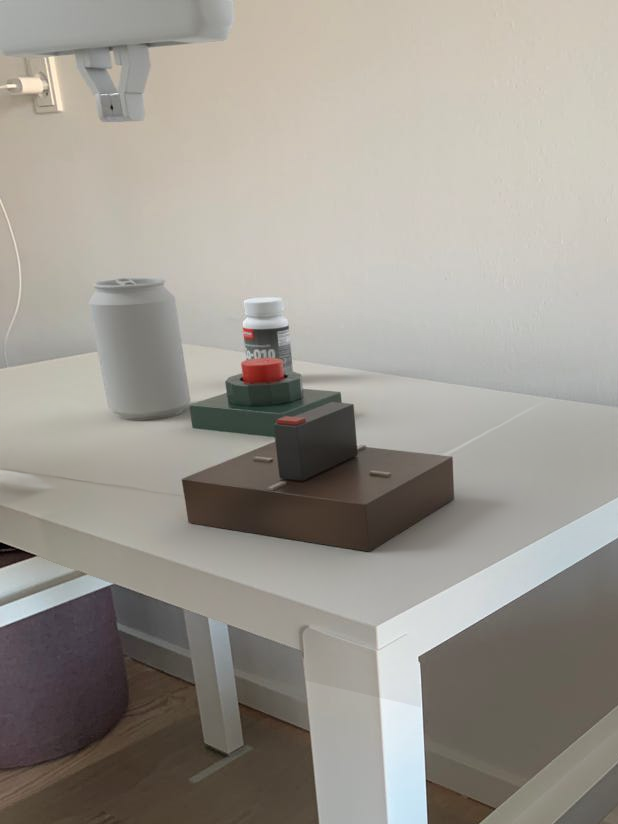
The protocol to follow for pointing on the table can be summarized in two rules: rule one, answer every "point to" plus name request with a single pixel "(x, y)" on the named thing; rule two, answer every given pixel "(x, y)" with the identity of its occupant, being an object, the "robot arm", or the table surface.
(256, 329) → the pill bottle
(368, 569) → the table surface
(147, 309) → the can
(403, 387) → the table surface
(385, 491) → the brown wooden base
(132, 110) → the robot arm
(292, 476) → the dark grey rectangular block
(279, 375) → the button
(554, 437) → the table surface
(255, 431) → the button box
